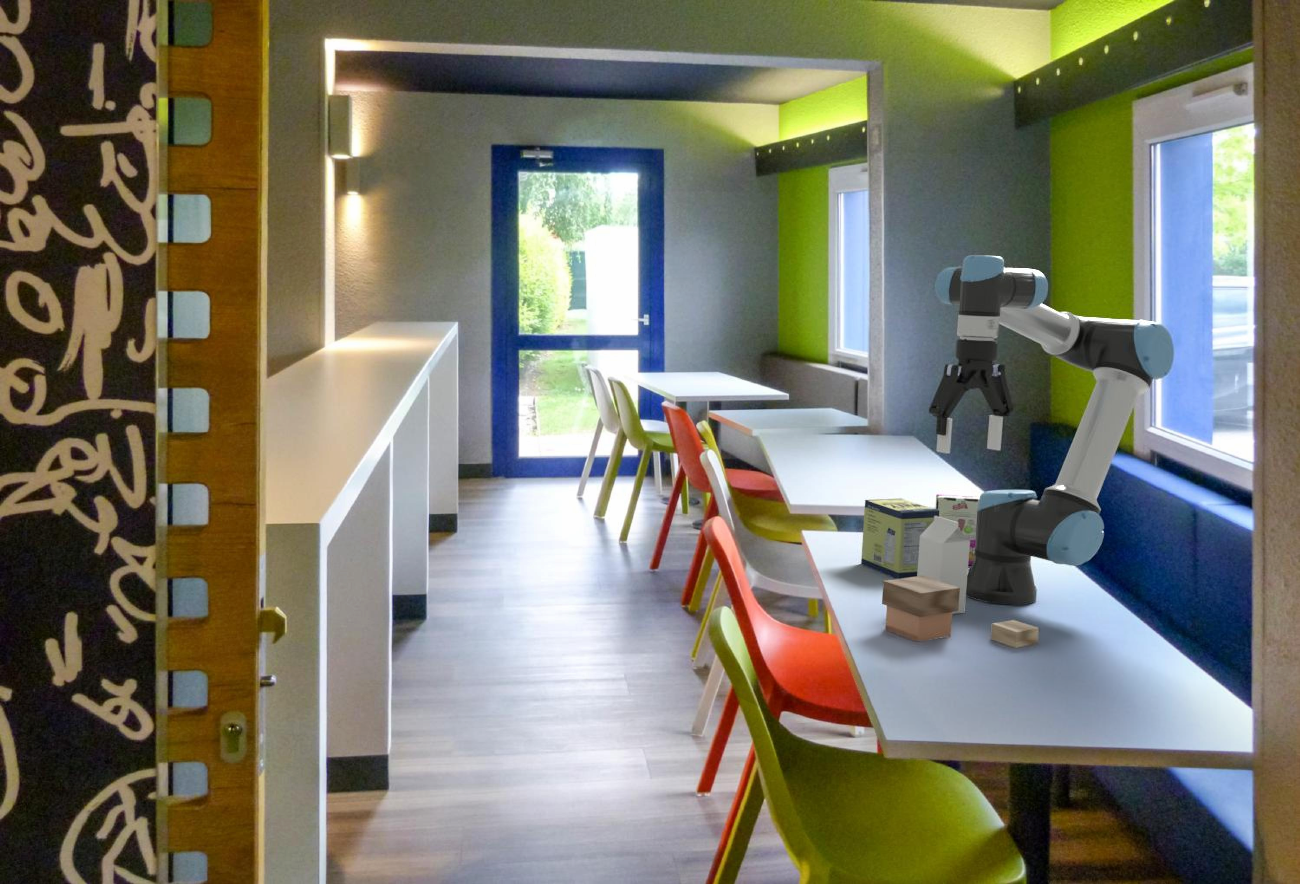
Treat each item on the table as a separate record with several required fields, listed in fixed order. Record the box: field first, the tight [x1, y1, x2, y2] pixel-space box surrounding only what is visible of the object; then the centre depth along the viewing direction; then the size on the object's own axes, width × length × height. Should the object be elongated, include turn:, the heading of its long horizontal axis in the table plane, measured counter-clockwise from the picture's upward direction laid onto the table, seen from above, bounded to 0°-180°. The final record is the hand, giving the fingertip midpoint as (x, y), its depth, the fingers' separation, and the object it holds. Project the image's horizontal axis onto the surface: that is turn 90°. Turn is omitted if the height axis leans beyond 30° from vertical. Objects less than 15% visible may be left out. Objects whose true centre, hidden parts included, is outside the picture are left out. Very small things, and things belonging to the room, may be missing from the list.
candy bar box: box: [935, 493, 980, 568], centre depth 292 cm, size 11×5×16 cm, turn 80°
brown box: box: [881, 576, 960, 617], centre depth 232 cm, size 10×10×4 cm
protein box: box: [860, 498, 939, 579], centre depth 283 cm, size 10×16×16 cm
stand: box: [990, 619, 1040, 649], centre depth 230 cm, size 6×6×3 cm
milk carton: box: [917, 516, 970, 615], centre depth 249 cm, size 7×7×19 cm
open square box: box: [884, 605, 953, 643], centre depth 233 cm, size 9×9×5 cm
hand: (968, 451), depth 233 cm, fingers open, 13 cm apart
